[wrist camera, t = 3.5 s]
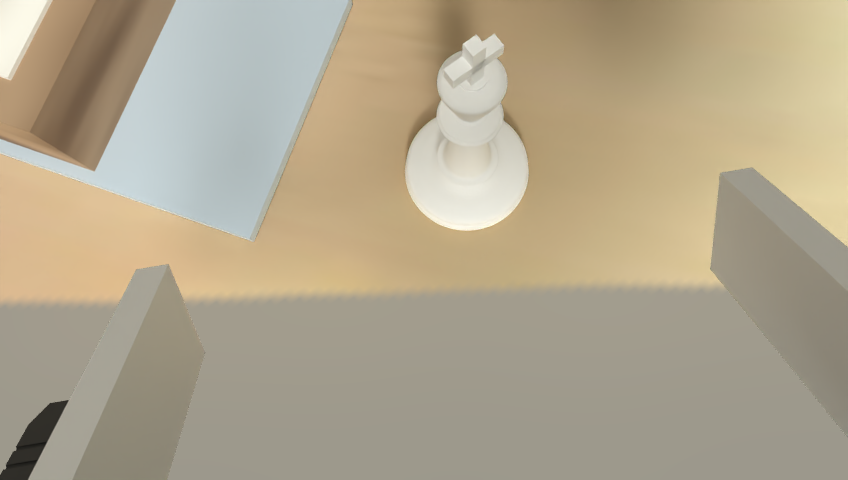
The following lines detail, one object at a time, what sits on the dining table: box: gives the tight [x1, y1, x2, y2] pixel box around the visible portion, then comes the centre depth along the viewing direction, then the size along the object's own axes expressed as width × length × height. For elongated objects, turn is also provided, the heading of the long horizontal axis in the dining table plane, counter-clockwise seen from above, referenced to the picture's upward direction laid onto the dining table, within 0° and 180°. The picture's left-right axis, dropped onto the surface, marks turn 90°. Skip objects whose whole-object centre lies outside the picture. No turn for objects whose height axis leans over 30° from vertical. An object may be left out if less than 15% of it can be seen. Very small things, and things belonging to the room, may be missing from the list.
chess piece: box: [405, 34, 529, 231], centre depth 22 cm, size 5×5×10 cm
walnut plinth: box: [0, 0, 176, 172], centre depth 26 cm, size 10×10×5 cm
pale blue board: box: [0, 0, 353, 242], centre depth 28 cm, size 18×11×1 cm, turn 71°
